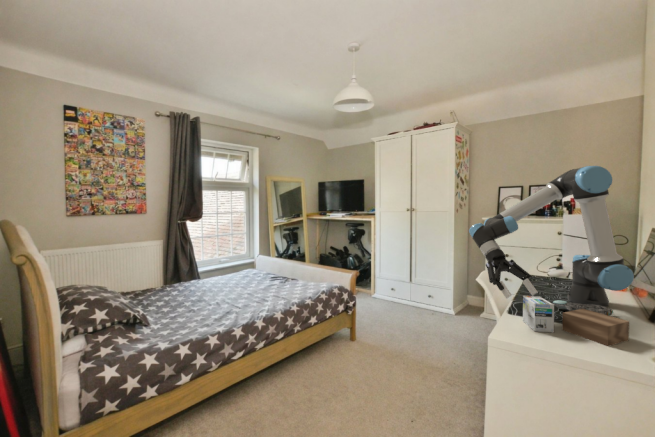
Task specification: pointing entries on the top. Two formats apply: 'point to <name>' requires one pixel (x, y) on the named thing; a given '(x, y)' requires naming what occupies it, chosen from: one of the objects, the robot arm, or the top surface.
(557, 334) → the top surface
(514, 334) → the top surface
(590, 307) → the toy aircraft
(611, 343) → the walnut block
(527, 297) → the light bulb box
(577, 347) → the top surface
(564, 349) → the top surface
